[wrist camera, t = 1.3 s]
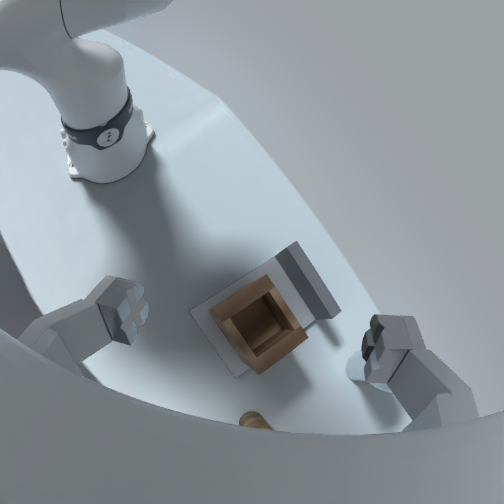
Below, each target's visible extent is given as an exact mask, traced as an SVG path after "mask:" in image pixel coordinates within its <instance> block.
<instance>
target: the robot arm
mask: <svg viewBox="0 0 504 504" xmlns="http://www.w3.org/2000/svg"><path fill="white" fill-rule="evenodd" d="M172 1H173V0H0V70H8V71H14V72H17V73H20V74H23V75H25V76H28V77H29V78H31V79H33V80H35V81H36V82H38V83H39V84H40V85H42V86H43V87H44V88H45V89H46V90H47V92H48V93H49V94H50V96H51V98H52V100H53V101H54V103H55V105H56V107H57V108H58V110H59V112H60V114H61V122H62V124H63V128H62V129H61V135H62V137H63V139H64V140H63V144H64V146H66V147H65V149H66V152H67V164H68V173H69V175H70V177H72V178H85V179H88V180H90V181H92V182H96V183H109V182H113V181H116V180H119V179H121V178H123V177H125V176H127V175H128V174H129V173H131V172H132V171H133V170H134V169H135V168H136V167H137V166H138V165H139V163H140V162H141V160H142V159H143V157H144V154H145V151H146V146H147V143H148V141H149V140H150V139H151V137H152V136H153V134H154V129H153V127H152V126H151V125H150V124H149V123H148V122H147V121H146V120H145V119H144V117H143V113H142V110H141V108H138V107H137V106H136V105H135V104H134V103H133V99H132V95H131V93H130V89H129V88H128V86H127V84H126V78H125V71H124V63H123V59H122V56H121V55H120V53H119V52H118V51H117V50H116V49H114V48H113V47H111V46H110V45H108V44H105V43H100V42H92V41H86V40H83V39H81V38H79V37H78V36H81V35H84V34H87V33H90V32H93V31H97V30H100V29H104V28H107V27H111V26H114V25H118V24H123V23H127V22H130V21H132V20H135V19H138V18H141V17H144V16H146V15H149V14H152V13H155V12H158V11H161V10H163V9H165V8H166V7H167V6H168V5H169V4H170V3H171V2H172ZM73 166H74V167H73ZM144 293H145V290H144V286H143V284H142V283H140V282H136V281H131V280H127V279H123V278H117V277H113V276H106V277H105V278H104V279H103V280H102V281H101V282H100V283H99V284H98V285H97V286H96V287H95V288H94V290H93V291H92V292H91V293H90V294H89V295H88V296H87V297H86V298H85V299H84V300H83V299H80V300H78V301H76V302H73V303H71V304H69V305H67V306H64V307H62V308H60V309H57V310H55V311H53V312H51V313H48V314H46V315H44V316H42V317H39V318H37V319H35V320H34V321H33V322H32V323H31V324H30V325H29V327H28V328H27V329H26V330H25V331H24V332H23V334H22V335H21V336H20V337H19V338H18V339H17V340H16V339H15V338H13V337H12V336H10V335H8V334H7V333H6V332H4V331H3V330H2V329H0V504H504V411H501V412H498V413H495V414H492V415H488V416H485V417H481V418H480V417H479V414H478V410H477V406H476V403H475V400H474V397H473V393H472V390H471V388H469V386H468V385H467V384H466V383H465V382H464V381H463V380H461V379H460V378H459V377H458V376H457V375H456V374H455V373H454V372H453V371H452V370H451V369H450V368H449V367H448V366H447V365H446V364H445V363H443V362H442V361H441V360H440V359H439V358H438V357H437V356H436V355H435V354H434V353H433V352H432V351H430V350H426V347H425V345H424V341H423V339H422V336H421V333H420V330H419V328H418V325H417V322H416V320H415V318H414V317H413V316H393V315H377V314H374V315H373V317H372V318H371V321H370V327H371V328H370V329H369V330H368V331H366V332H365V335H364V337H363V341H362V358H363V359H364V360H365V361H366V364H365V366H364V375H365V383H385V384H387V385H388V387H389V388H390V389H391V391H392V392H393V394H394V395H395V396H396V398H397V399H398V401H399V402H400V403H401V405H402V406H403V408H404V409H405V411H406V412H407V413H408V415H409V416H410V418H411V419H412V422H411V423H410V424H409V425H408V426H406V427H405V428H404V429H403V430H402V432H397V433H385V434H366V435H323V434H304V433H292V432H281V431H273V430H265V429H258V428H251V427H245V426H239V425H233V424H228V423H223V422H218V421H213V420H209V419H204V418H200V417H196V416H192V415H188V414H184V413H181V412H177V411H174V410H170V409H167V408H163V407H160V406H157V405H154V404H151V403H148V402H145V401H142V400H139V399H136V398H133V397H131V396H128V395H125V394H123V393H120V392H117V391H115V390H112V389H110V388H108V387H105V386H103V385H100V384H98V383H96V382H93V381H91V380H89V379H87V378H85V377H83V376H82V373H81V371H80V370H79V368H78V367H77V364H79V363H80V362H82V361H83V360H85V359H86V358H88V357H89V356H91V355H92V354H94V353H95V352H97V351H98V350H100V349H101V348H103V347H104V346H106V345H107V344H109V343H110V342H112V340H113V341H116V342H120V343H123V344H127V345H131V344H132V342H133V341H134V339H135V338H136V336H137V334H138V329H137V328H138V327H140V326H142V325H144V323H145V321H146V320H147V316H148V313H149V306H148V302H147V300H146V299H145V298H144V297H143V294H144Z"/></svg>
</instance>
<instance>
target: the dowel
mask: <svg viewBox="0 0 504 504" xmlns="http://www.w3.org/2000/svg"><path fill="white" fill-rule="evenodd" d="M239 423H240V426H245V427H251V428H258V429H265V430H272V428H271V427H270V426H269V425H268V424H267V422H266V421H265V420H264V419H263V417H262V416H261V415H260V414H259V413H257V412H247V413H245V414H244V415H243V416H242V417H241V418H240V422H239Z"/></svg>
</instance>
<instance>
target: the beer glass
mask: <svg viewBox="0 0 504 504" xmlns="http://www.w3.org/2000/svg"><path fill="white" fill-rule="evenodd" d="M365 364H366V361H365V360H364V359H363V358H362V350H361V351H357V352H355V353H353V354H352V355H351V356H350V358H349V359H348V362H347V365H346V371H347V375H348V376H349V378H350V379H352V380H354V381H365V375H364V366H365ZM369 384H371V385H372V386H374V387H376V388H377V389H379V390H381V391H384V392H387V393H391V394H393V392H392V391H391V389H390V388H389V387H388V385H387V384H385V383H369Z"/></svg>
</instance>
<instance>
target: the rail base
mask: <svg viewBox="0 0 504 504" xmlns="http://www.w3.org/2000/svg"><path fill="white" fill-rule="evenodd" d="M265 274H267V275H268V276H269V278H270V279H271V281H272V282H273V284H274V285H275V287H276V289H277V290H278V292H279V293H280V295H281V296H282V298H283V299H284V301H285V302H286V304H287V305H288V307H289V308H290V310H291V311H292V313H293V314H294V316H295V317H296V319H297V320H298V322H299V323H300V325H301V327H302V328H303V329H304V328H305V327H306V326H308V325H309V324H310V323H312V322H313V321H314V320H315V319H333V318H334V317H335V316H336V315H337V314H339V313H340V312H341V309H340V308H339V306H338V304H337V303H336V301H335V300H334V298H333V296H332V295H331V293H330V292H329V290H328V288H327V287H326V285H325V284H324V282H323V281H322V279H321V277H320V276H319V274H318V273H317V271H316V270H315V268H314V267H313V265H312V263H311V262H310V260H309V259H308V257H307V256H306V254H305V253H304V251H303V250H302V248H301V247H300V245H299V244H298V242H297V241H296V242H294V243H293V244H291V245H290V246H288V247H287V248H285V249H284V250H282V251H281V252H280V253H278V254H277V255H276V256H274V257H273V258H271V259H270V260H268V261H267V262H265V263H264V264H262V265H260V266H259V267H257V268H256V269H254V270H253V271H251V272H250V273H248V274H247V275H245V276H243V277H242V278H240V279H239V280H237V281H236V282H234V283H233V284H231V285H229V286H228V287H226V288H225V289H223V290H222V291H220V292H219V293H217V294H215V295H214V296H212V297H211V298H209V299H208V300H206V301H204V302H203V303H201V304H200V305H198V306H196V307H195V308H193V309H192V310H190V311H189V312H190V313H191V315H192V316H193V318H194V319H195V321H196V322H197V324H198V325H199V327H200V328H201V330H202V331H203V333H204V334H205V336H206V337H207V339H208V340H209V342H210V343H211V345H212V346H213V348H214V349H215V350H216V352H217V353H218V355H219V356H220V357H221V359H222V360H223V362H224V363H225V364H226V366H227V367H228V369H229V370H230V371H231V373H232V374H233V375H234V377H235V378H237V377H238V376H240V375H241V374H242V373H244V372H245V371H247V370H248V369H250V367H249V366H247V365H246V364H245V363H243V361H242V360H241V358H240V357H239V356H238V354H237V353H236V351H235V350H234V348H233V347H232V346H231V344H230V343H229V341H228V340H227V338H226V337H225V335H224V334H223V333H222V331H221V330H220V328H219V327H218V325H217V324H216V322H215V321H214V319H213V318H212V316H211V315H210V313H209V312H208V310H210V309H211V308H213V307H214V306H216V305H218V304H219V303H221V302H222V301H224V300H225V299H227V298H228V297H230V296H231V295H233V294H234V293H236V292H238V291H239V290H241V289H242V288H244V287H245V286H247V285H248V284H250V283H251V282H253V281H255V280H257V279H258V278H260V277H262V276H264V275H265Z"/></svg>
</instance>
